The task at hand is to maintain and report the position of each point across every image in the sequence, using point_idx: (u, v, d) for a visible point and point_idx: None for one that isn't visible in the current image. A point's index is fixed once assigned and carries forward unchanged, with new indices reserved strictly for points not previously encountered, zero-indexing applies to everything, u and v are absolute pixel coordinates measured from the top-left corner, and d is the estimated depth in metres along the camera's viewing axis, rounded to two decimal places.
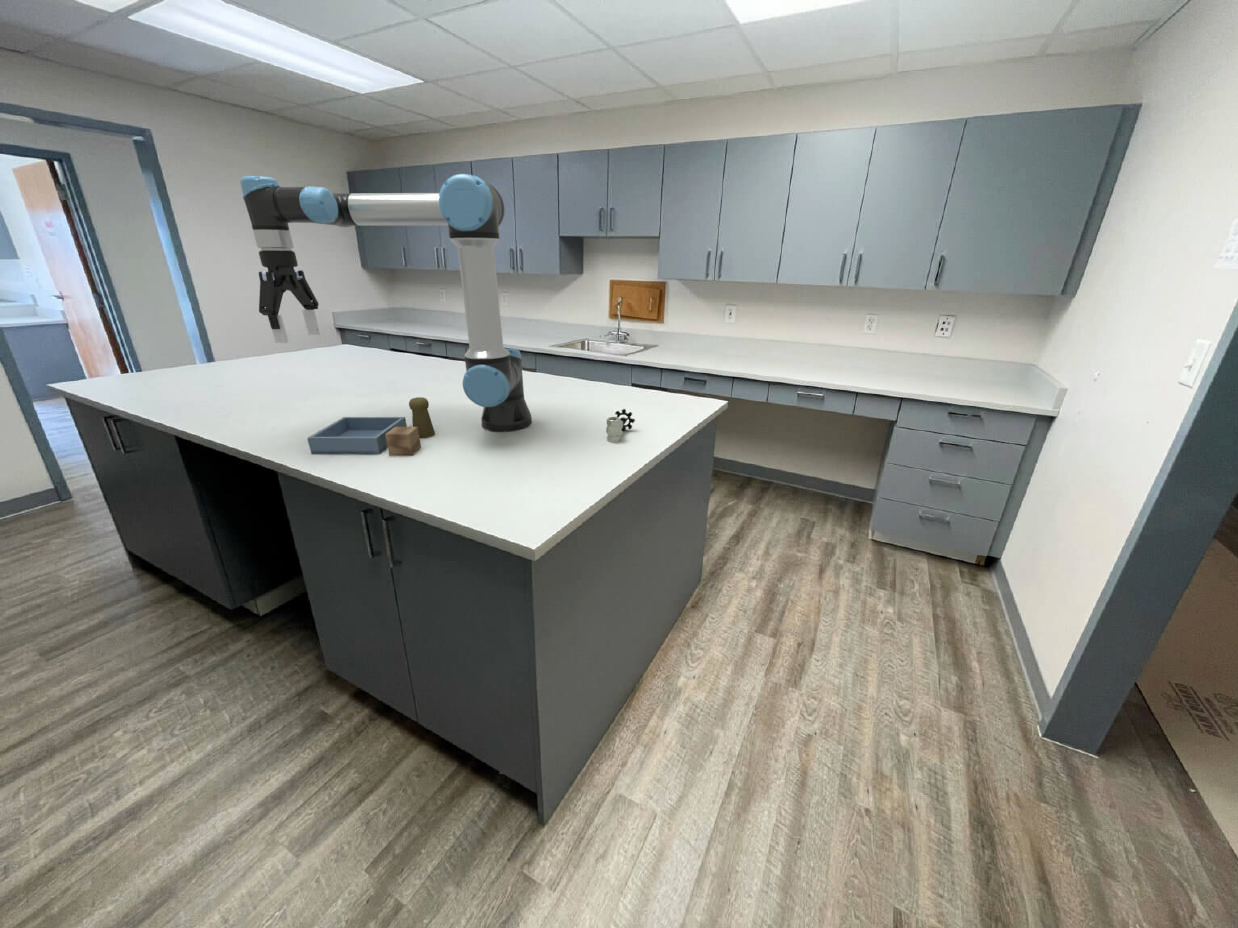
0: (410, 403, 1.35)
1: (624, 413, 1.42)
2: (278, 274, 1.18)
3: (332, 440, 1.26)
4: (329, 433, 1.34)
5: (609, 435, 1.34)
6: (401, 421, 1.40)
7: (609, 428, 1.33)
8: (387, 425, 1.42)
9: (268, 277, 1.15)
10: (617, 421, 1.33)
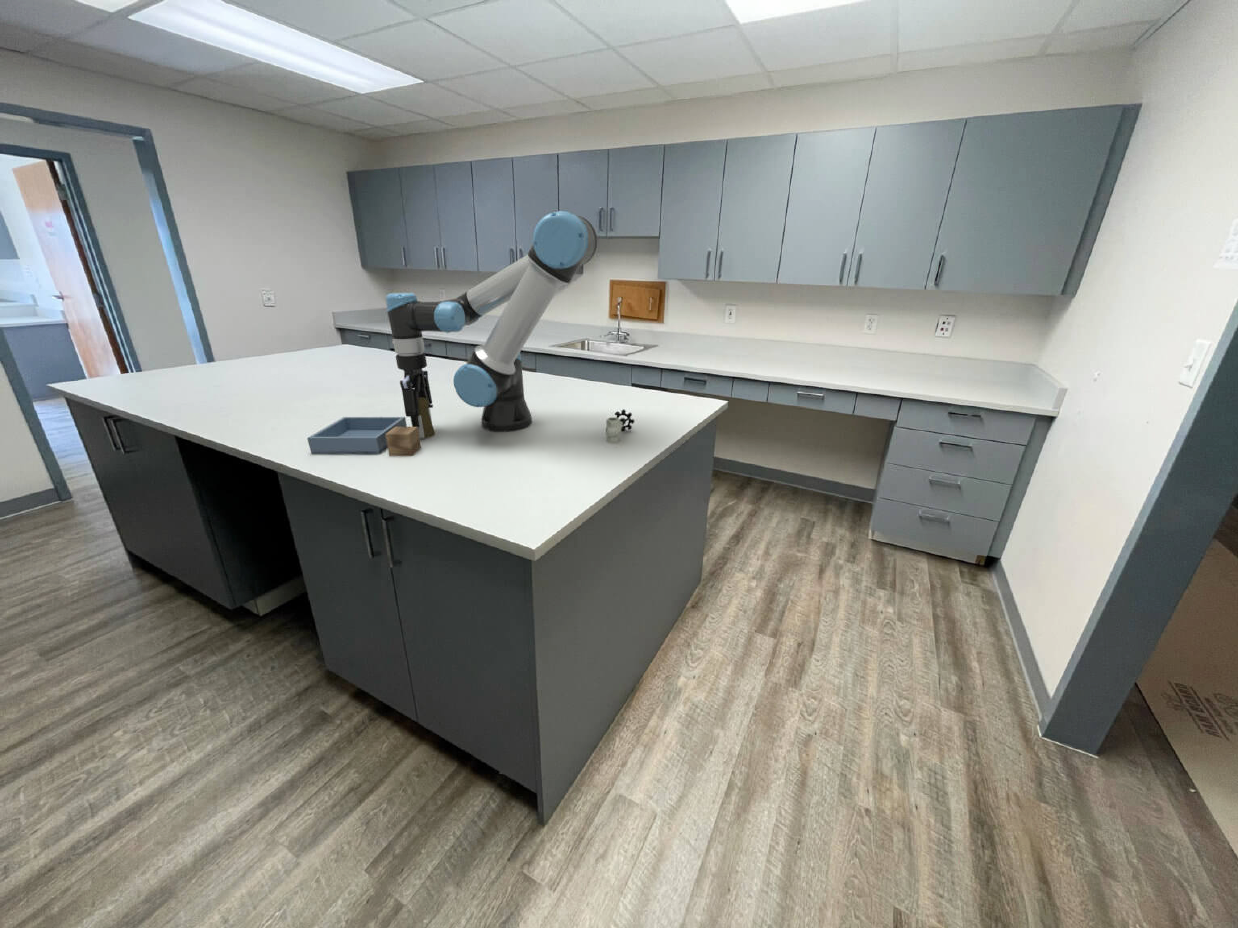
0: None
1: (624, 414, 1.42)
2: (412, 376, 1.31)
3: (332, 440, 1.26)
4: (329, 433, 1.34)
5: (608, 436, 1.34)
6: (401, 421, 1.40)
7: (609, 428, 1.33)
8: (387, 425, 1.42)
9: (408, 386, 1.29)
10: (616, 422, 1.32)
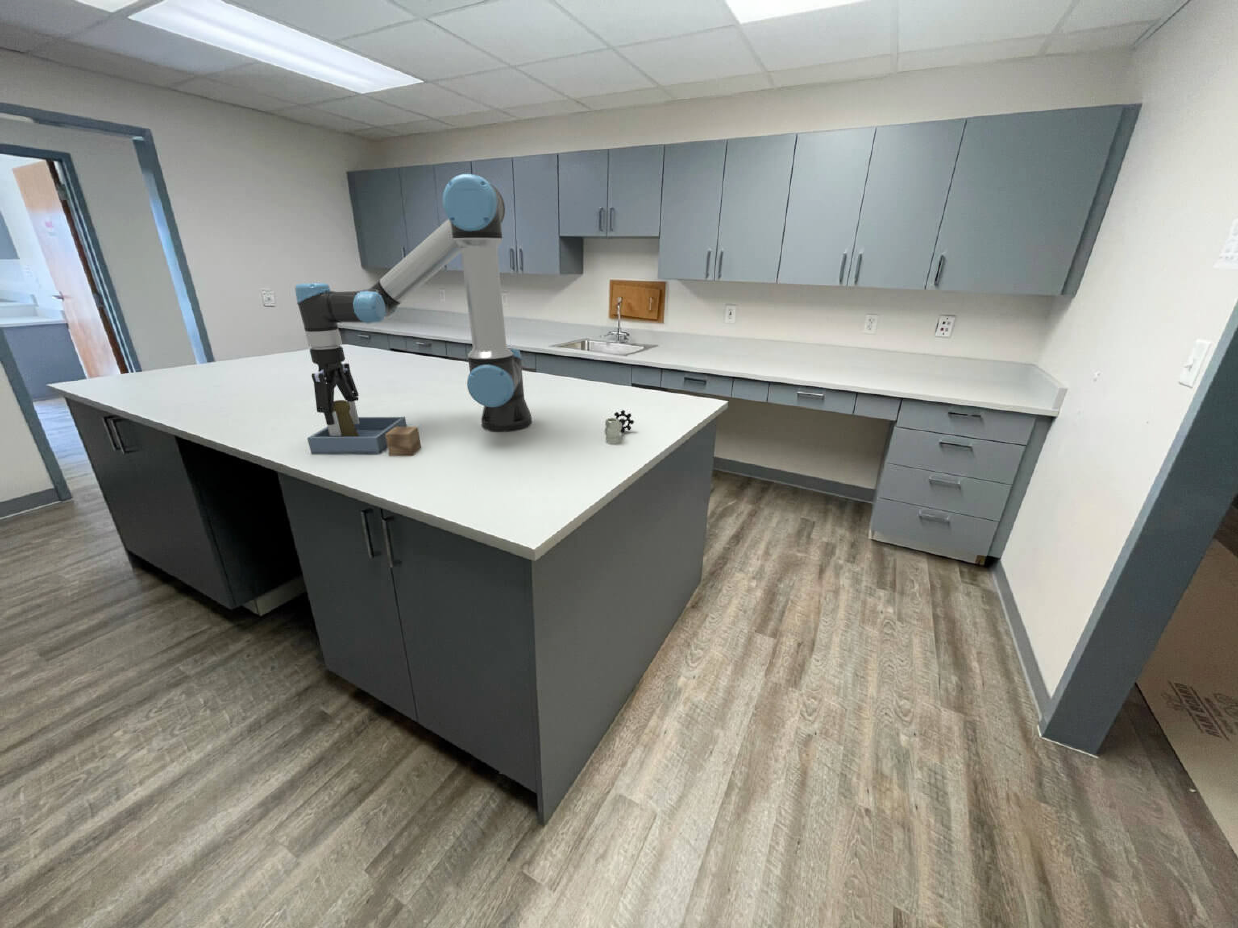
0: None
1: (623, 414, 1.41)
2: (328, 370, 1.25)
3: (332, 440, 1.26)
4: None
5: (608, 436, 1.33)
6: (401, 421, 1.40)
7: (608, 429, 1.32)
8: (387, 425, 1.42)
9: (321, 379, 1.22)
10: (616, 422, 1.32)
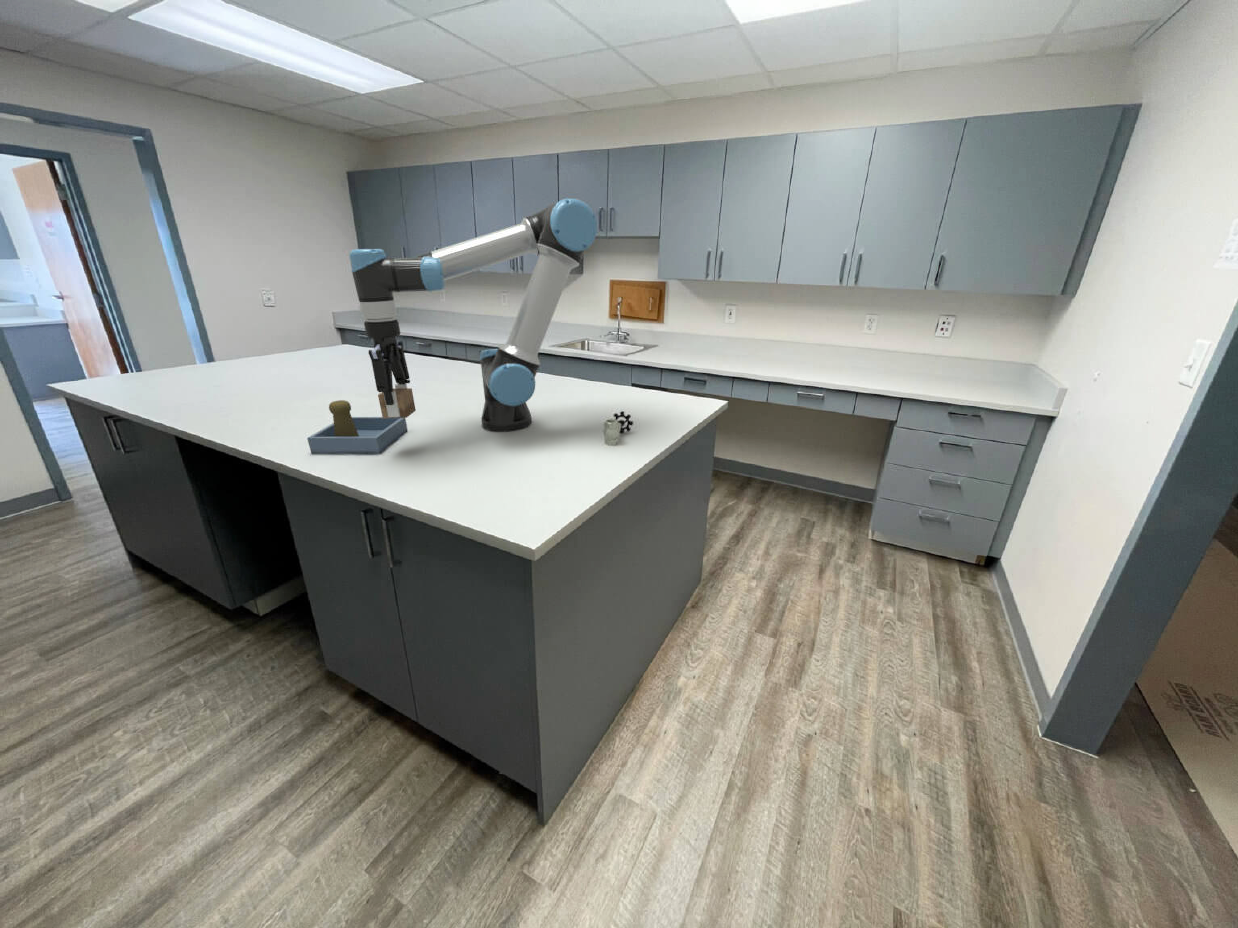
0: (330, 406, 1.30)
1: (622, 415, 1.40)
2: (384, 345, 1.15)
3: (332, 440, 1.26)
4: (329, 433, 1.34)
5: (606, 438, 1.32)
6: (401, 421, 1.40)
7: (607, 430, 1.31)
8: (387, 425, 1.42)
9: (379, 356, 1.13)
10: (615, 424, 1.31)
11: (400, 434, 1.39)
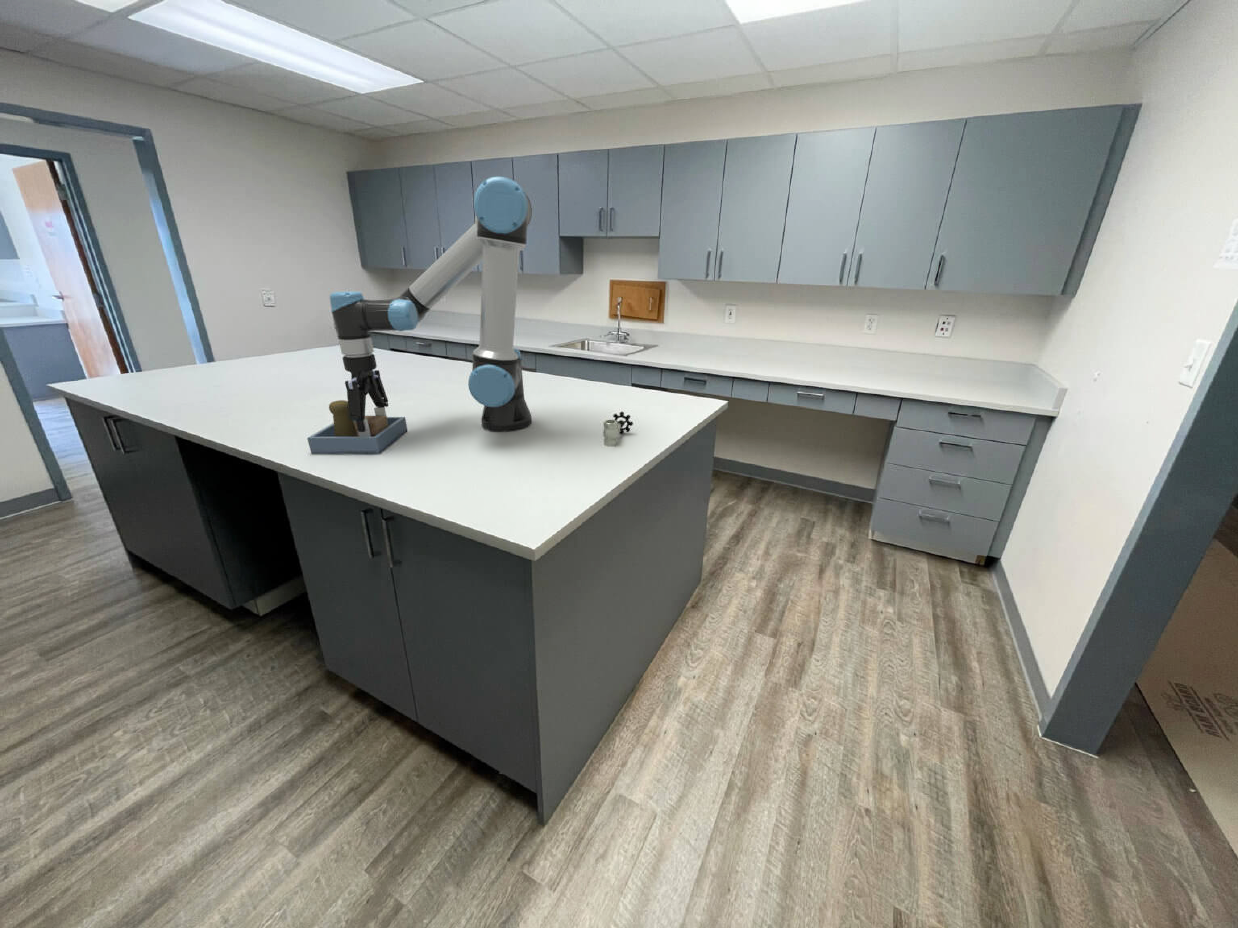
0: (330, 406, 1.30)
1: (622, 416, 1.40)
2: (360, 378, 1.25)
3: (332, 440, 1.26)
4: (329, 433, 1.34)
5: (606, 438, 1.32)
6: (401, 421, 1.40)
7: (606, 431, 1.31)
8: None
9: (354, 386, 1.23)
10: (614, 424, 1.30)
11: (400, 434, 1.39)
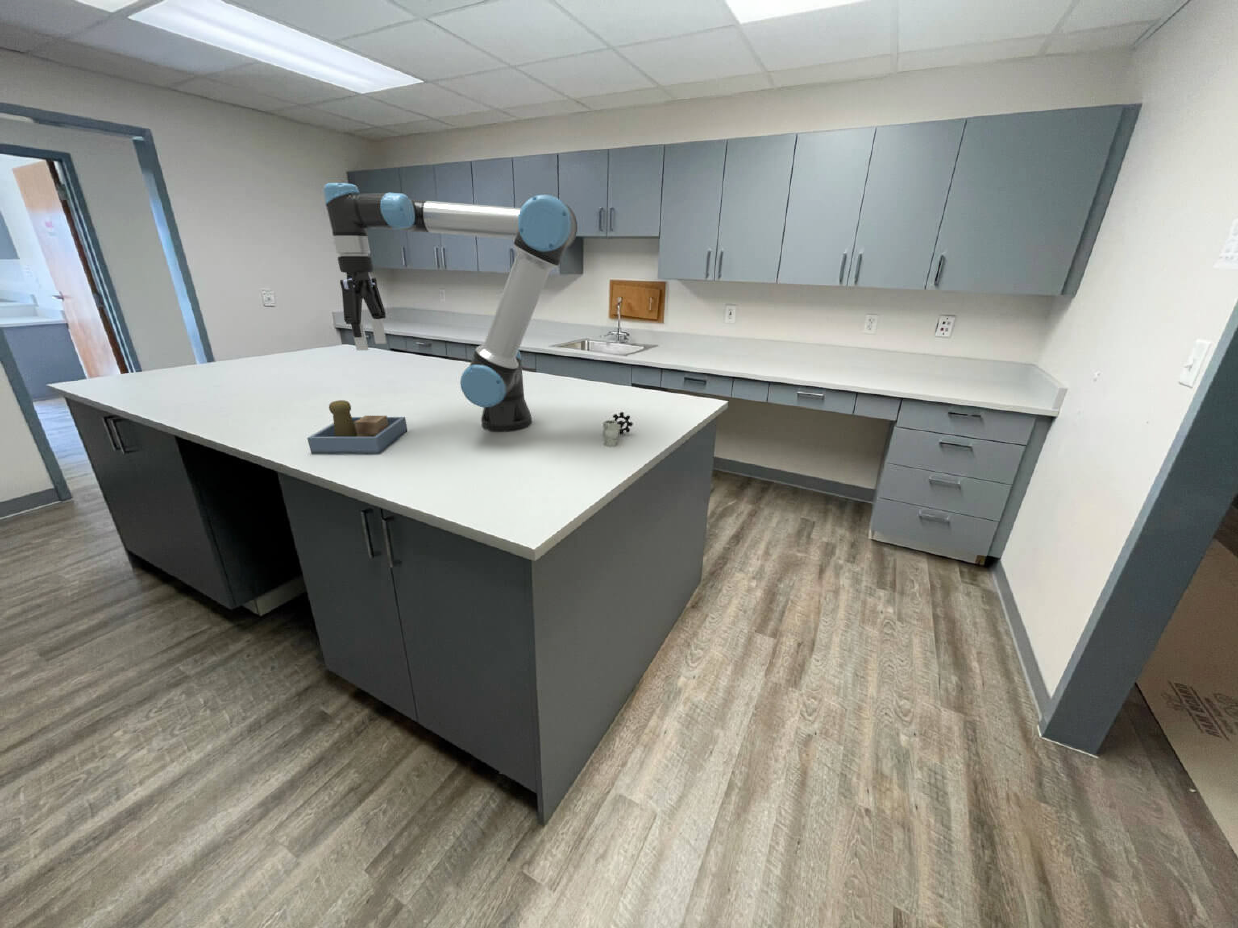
0: (330, 406, 1.30)
1: (622, 416, 1.39)
2: (356, 279, 1.20)
3: (332, 440, 1.26)
4: (329, 433, 1.34)
5: (605, 439, 1.32)
6: (401, 421, 1.40)
7: (606, 431, 1.30)
8: None
9: (349, 286, 1.17)
10: (614, 425, 1.30)
11: (400, 434, 1.39)
